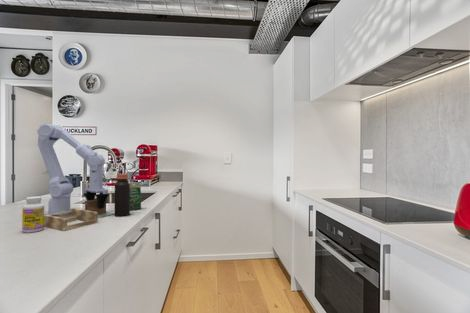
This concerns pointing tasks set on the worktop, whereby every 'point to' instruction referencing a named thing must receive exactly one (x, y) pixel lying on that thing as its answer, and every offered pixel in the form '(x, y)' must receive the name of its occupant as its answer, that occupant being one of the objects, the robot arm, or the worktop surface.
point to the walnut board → (94, 206)
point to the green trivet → (105, 214)
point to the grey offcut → (63, 214)
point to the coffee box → (135, 197)
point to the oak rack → (61, 224)
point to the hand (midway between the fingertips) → (96, 207)
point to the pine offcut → (71, 219)
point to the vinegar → (122, 196)
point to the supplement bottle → (33, 215)
